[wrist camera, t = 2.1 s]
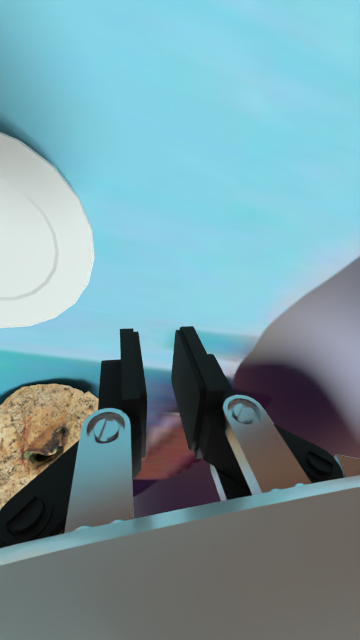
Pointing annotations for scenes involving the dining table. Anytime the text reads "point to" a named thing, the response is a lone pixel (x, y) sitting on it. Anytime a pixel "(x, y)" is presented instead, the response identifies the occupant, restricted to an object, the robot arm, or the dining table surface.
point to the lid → (39, 238)
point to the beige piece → (38, 431)
